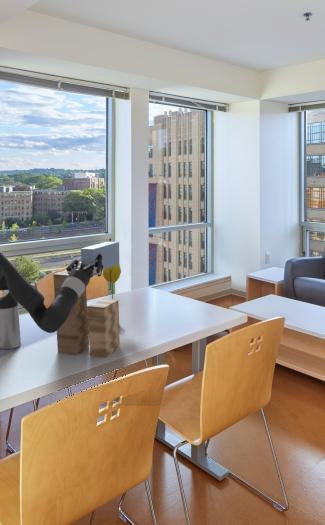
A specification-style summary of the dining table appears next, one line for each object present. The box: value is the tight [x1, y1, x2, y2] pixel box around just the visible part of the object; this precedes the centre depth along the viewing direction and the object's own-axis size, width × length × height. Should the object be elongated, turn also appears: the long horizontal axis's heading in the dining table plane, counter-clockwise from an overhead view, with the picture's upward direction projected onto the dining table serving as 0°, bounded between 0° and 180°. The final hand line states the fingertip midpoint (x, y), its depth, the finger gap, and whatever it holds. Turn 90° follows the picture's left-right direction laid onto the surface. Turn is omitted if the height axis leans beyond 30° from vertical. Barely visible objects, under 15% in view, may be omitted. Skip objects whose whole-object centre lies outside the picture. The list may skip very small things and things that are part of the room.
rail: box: [80, 241, 120, 271], centre depth 183 cm, size 22×5×9 cm, turn 160°
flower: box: [102, 263, 122, 300], centre depth 223 cm, size 9×8×30 cm
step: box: [87, 298, 121, 358], centre depth 187 cm, size 12×7×20 cm, turn 158°
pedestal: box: [52, 269, 90, 356], centre depth 188 cm, size 9×9×32 cm
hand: (94, 255), depth 177 cm, fingers closed on rail, 5 cm apart
